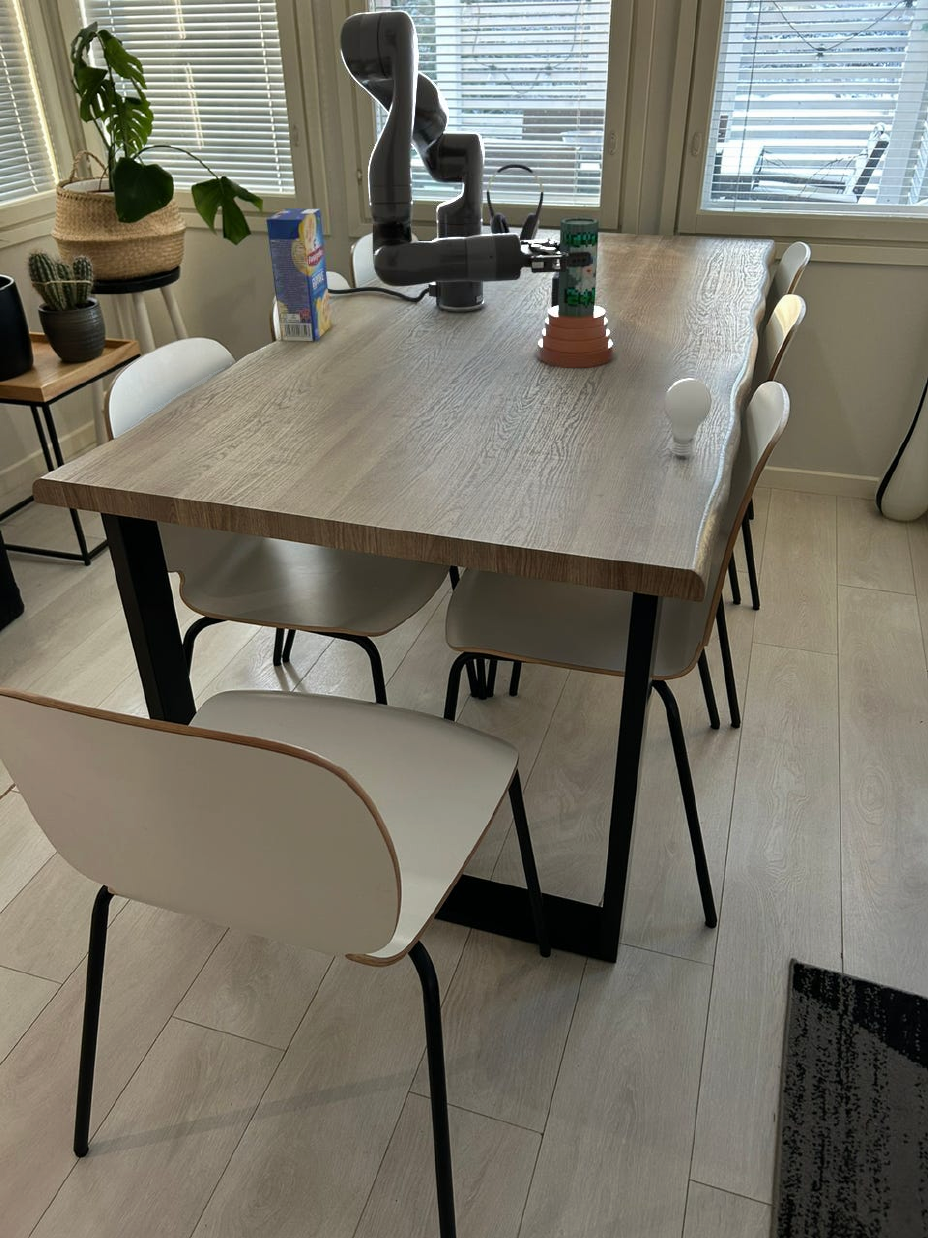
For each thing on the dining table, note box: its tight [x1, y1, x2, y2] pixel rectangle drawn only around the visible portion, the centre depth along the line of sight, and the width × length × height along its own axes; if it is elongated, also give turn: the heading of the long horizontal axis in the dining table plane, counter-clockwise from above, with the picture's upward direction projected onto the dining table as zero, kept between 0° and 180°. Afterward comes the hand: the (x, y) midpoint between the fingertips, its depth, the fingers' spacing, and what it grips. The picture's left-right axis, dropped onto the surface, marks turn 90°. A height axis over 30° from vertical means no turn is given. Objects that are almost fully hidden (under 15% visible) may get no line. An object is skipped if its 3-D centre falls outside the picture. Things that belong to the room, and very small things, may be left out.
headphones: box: [486, 163, 545, 241], centre depth 249 cm, size 9×15×20 cm, turn 77°
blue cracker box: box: [265, 208, 332, 342], centre depth 186 cm, size 7×11×22 cm, turn 170°
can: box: [558, 217, 600, 316], centre depth 167 cm, size 6×6×15 cm
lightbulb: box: [663, 378, 713, 458], centre depth 133 cm, size 6×6×11 cm
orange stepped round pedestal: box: [537, 305, 613, 369], centre depth 173 cm, size 13×13×8 cm
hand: (584, 253), depth 166 cm, fingers open, 8 cm apart
